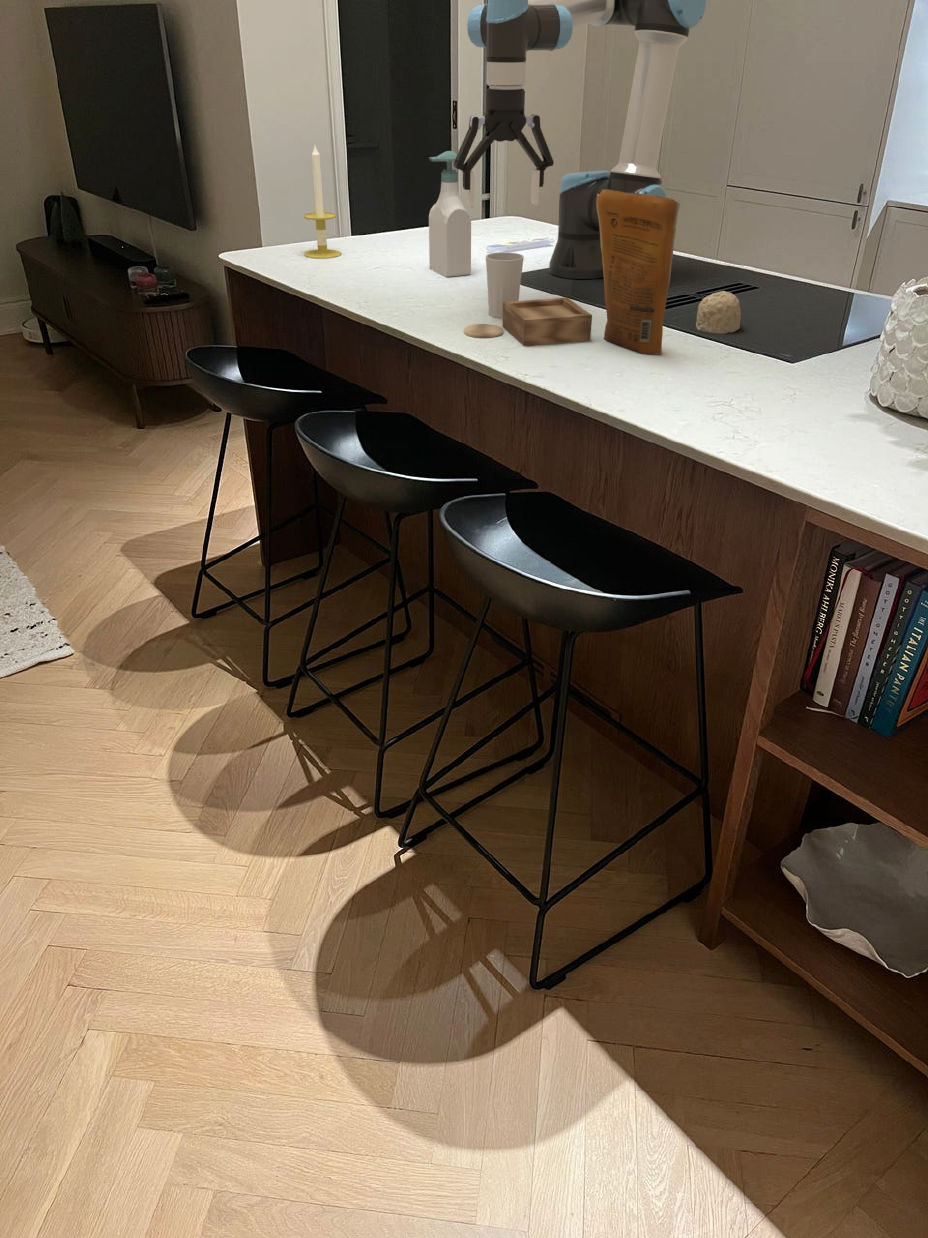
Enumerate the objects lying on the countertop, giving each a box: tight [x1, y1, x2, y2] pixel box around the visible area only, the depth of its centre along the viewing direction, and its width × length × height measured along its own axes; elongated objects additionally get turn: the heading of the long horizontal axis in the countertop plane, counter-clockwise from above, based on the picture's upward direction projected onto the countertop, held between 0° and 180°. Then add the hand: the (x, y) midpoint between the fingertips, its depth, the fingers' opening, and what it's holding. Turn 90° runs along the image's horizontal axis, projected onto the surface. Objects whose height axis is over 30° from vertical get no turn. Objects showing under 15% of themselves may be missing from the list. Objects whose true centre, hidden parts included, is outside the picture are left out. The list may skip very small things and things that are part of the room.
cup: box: [485, 251, 525, 319], centre depth 205 cm, size 8×8×12 cm
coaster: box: [463, 323, 504, 339], centre depth 196 cm, size 8×8×1 cm
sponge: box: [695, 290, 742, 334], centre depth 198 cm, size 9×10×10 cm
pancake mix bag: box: [596, 190, 681, 355], centre depth 182 cm, size 7×19×28 cm, turn 34°
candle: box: [303, 145, 342, 260], centre depth 250 cm, size 10×10×27 cm
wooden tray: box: [501, 297, 593, 347], centre depth 195 cm, size 14×14×5 cm
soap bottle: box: [428, 150, 472, 278], centre depth 233 cm, size 11×8×27 cm
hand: (502, 205), depth 197 cm, fingers open, 13 cm apart
